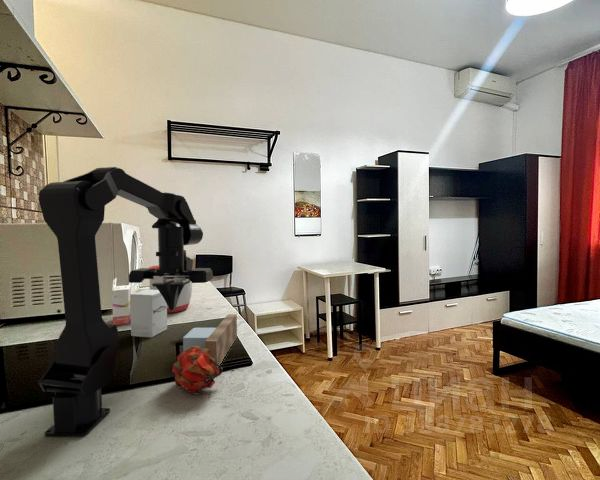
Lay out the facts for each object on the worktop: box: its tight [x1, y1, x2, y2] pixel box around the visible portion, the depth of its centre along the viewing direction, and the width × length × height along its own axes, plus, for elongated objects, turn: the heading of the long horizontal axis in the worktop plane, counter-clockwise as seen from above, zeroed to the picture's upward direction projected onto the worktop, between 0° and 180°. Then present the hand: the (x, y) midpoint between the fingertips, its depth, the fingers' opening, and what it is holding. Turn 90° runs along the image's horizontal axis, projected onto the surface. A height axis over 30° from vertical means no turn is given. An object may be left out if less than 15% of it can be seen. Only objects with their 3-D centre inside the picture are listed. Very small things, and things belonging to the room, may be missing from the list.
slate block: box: [182, 327, 217, 352], centre depth 75 cm, size 7×7×6 cm
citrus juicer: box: [148, 264, 193, 314], centre depth 117 cm, size 16×17×20 cm
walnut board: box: [205, 313, 238, 368], centre depth 77 cm, size 20×2×7 cm, turn 179°
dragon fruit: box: [171, 346, 224, 396], centre depth 61 cm, size 8×8×12 cm
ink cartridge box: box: [111, 277, 132, 326], centre depth 103 cm, size 9×5×15 cm, turn 25°
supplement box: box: [130, 289, 168, 338], centre depth 91 cm, size 7×7×13 cm
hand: (172, 309), depth 74 cm, fingers closed
